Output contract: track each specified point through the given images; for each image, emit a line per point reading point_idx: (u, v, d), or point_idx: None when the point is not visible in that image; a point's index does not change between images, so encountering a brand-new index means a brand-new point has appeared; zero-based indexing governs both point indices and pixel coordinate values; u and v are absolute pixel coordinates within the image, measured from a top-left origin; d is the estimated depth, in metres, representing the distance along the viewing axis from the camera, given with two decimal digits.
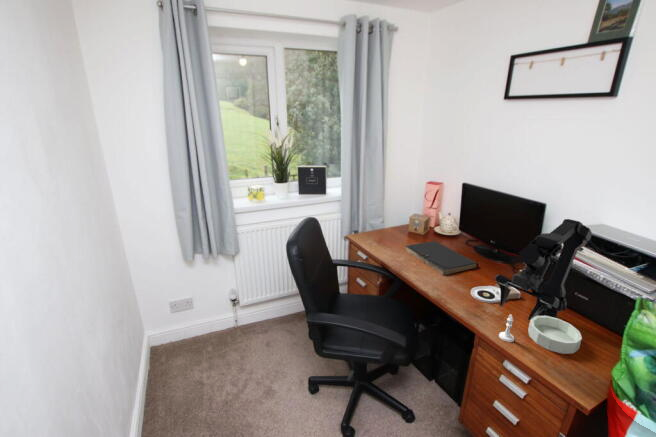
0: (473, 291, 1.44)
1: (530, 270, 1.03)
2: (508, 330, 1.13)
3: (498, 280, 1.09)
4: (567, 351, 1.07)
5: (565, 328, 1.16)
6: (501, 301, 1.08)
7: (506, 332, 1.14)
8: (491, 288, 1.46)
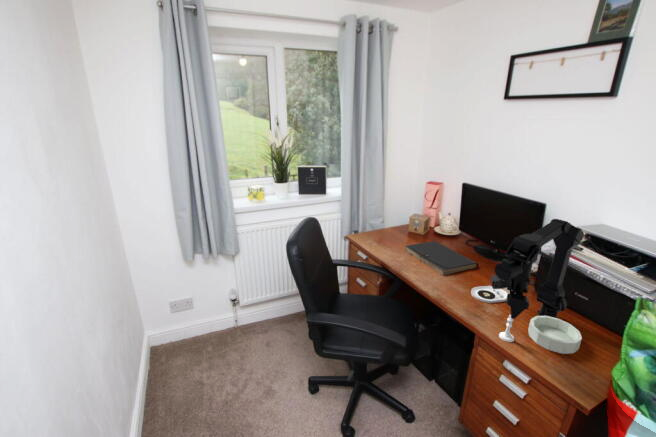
0: (473, 291, 1.44)
1: None
2: (508, 330, 1.13)
3: None
4: (567, 351, 1.07)
5: (565, 328, 1.16)
6: None
7: (506, 332, 1.14)
8: (491, 288, 1.46)
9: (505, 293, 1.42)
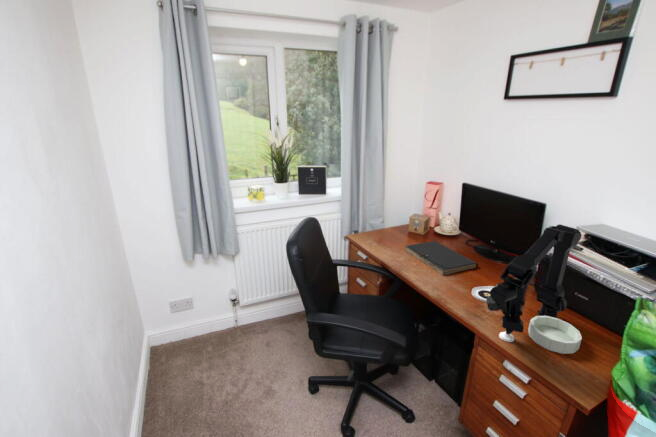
0: (474, 291, 1.44)
1: None
2: None
3: None
4: (567, 351, 1.07)
5: (565, 328, 1.16)
6: None
7: None
8: None
9: None
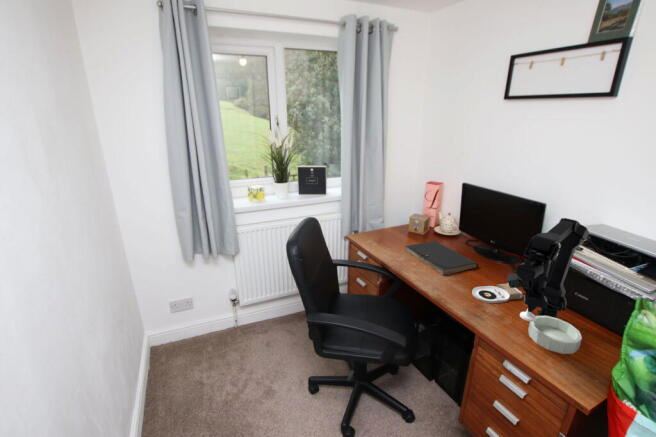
0: (474, 291, 1.44)
1: None
2: None
3: None
4: (567, 351, 1.07)
5: (565, 328, 1.16)
6: None
7: (527, 311, 1.11)
8: (493, 288, 1.46)
9: (506, 293, 1.41)
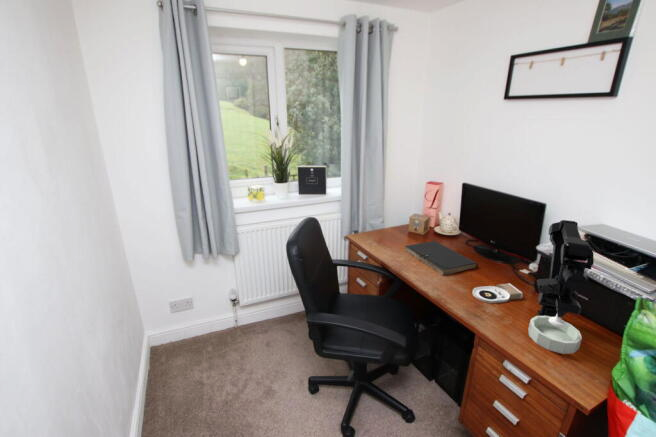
0: (475, 291, 1.44)
1: (558, 276, 1.08)
2: None
3: None
4: (567, 351, 1.07)
5: (565, 328, 1.16)
6: (556, 308, 1.12)
7: (557, 317, 1.11)
8: (493, 288, 1.46)
9: (507, 293, 1.41)
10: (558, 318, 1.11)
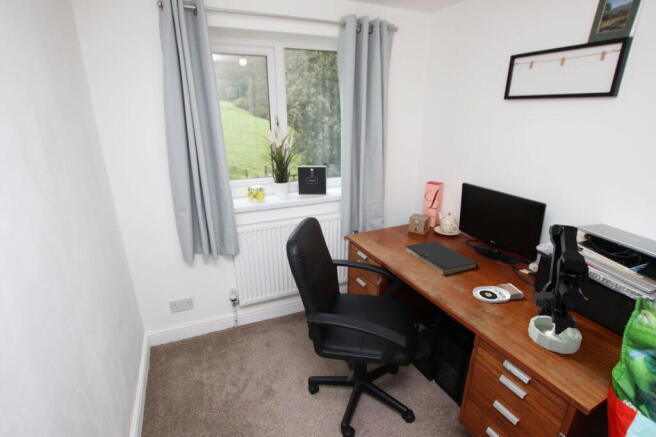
0: (475, 291, 1.44)
1: (555, 290, 1.09)
2: None
3: None
4: (567, 351, 1.07)
5: None
6: None
7: (553, 331, 1.13)
8: (493, 288, 1.46)
9: (507, 293, 1.41)
10: (554, 332, 1.13)
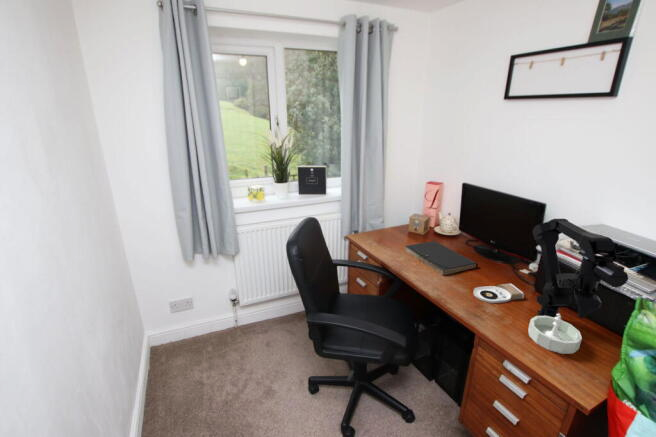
0: (476, 291, 1.44)
1: (578, 270, 1.07)
2: (555, 329, 1.12)
3: None
4: (567, 351, 1.07)
5: (565, 328, 1.16)
6: None
7: (553, 331, 1.13)
8: (494, 288, 1.46)
9: (508, 293, 1.41)
10: (554, 332, 1.13)
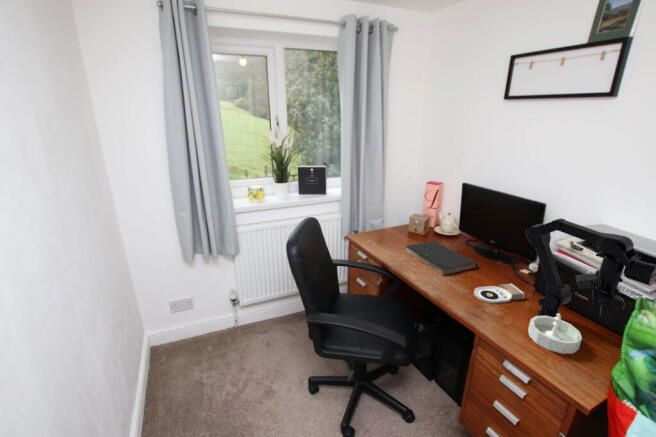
0: (476, 291, 1.44)
1: (599, 271, 1.07)
2: (555, 329, 1.12)
3: None
4: (567, 351, 1.07)
5: (565, 328, 1.16)
6: None
7: (553, 331, 1.13)
8: (495, 288, 1.46)
9: (508, 294, 1.41)
10: (554, 332, 1.13)
